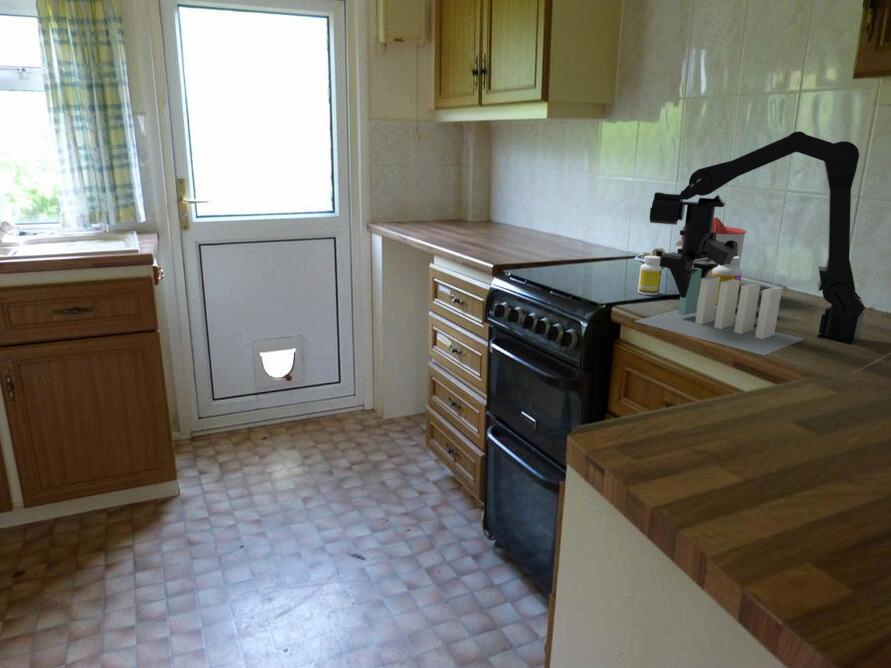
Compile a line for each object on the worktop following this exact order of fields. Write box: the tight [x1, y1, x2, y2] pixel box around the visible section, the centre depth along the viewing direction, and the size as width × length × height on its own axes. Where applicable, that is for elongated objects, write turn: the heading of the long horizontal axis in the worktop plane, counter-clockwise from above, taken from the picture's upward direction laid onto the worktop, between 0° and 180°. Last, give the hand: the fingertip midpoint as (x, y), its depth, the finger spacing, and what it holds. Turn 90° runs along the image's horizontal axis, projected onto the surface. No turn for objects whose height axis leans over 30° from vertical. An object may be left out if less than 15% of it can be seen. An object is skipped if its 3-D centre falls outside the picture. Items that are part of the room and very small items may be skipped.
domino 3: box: [734, 282, 761, 334], centre depth 139 cm, size 2×5×10 cm, turn 130°
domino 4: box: [755, 286, 783, 339], centre depth 136 cm, size 2×5×10 cm, turn 130°
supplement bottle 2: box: [712, 256, 743, 311], centre depth 158 cm, size 7×7×13 cm
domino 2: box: [714, 279, 741, 329], centre depth 142 cm, size 2×5×10 cm, turn 130°
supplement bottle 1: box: [637, 255, 663, 296], centre depth 173 cm, size 5×5×10 cm
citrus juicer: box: [675, 216, 747, 292], centre depth 176 cm, size 16×17×20 cm
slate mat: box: [633, 309, 805, 356], centre depth 141 cm, size 29×18×1 cm, turn 40°
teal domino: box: [677, 268, 702, 315], centre depth 148 cm, size 2×5×10 cm, turn 130°
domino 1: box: [695, 276, 720, 324], centre depth 145 cm, size 2×5×10 cm, turn 130°
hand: (689, 295), depth 149 cm, fingers closed on teal domino, 5 cm apart
